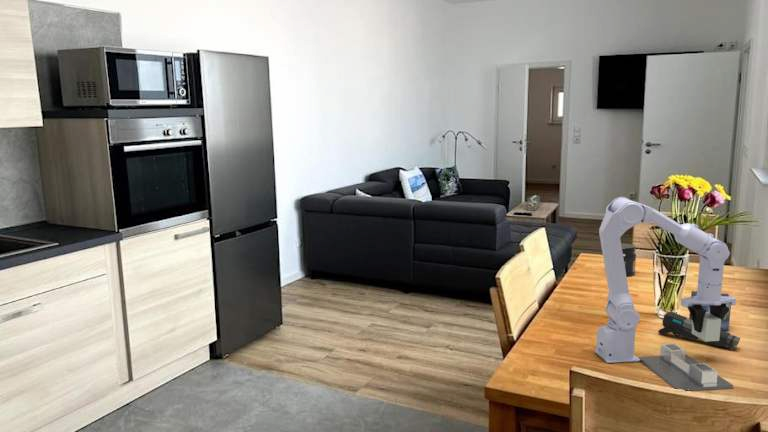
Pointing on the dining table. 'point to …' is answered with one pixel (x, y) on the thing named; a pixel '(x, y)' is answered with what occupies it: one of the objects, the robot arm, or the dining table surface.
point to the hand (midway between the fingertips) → (705, 330)
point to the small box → (724, 321)
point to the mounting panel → (684, 370)
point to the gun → (684, 329)
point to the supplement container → (629, 258)
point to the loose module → (709, 328)
